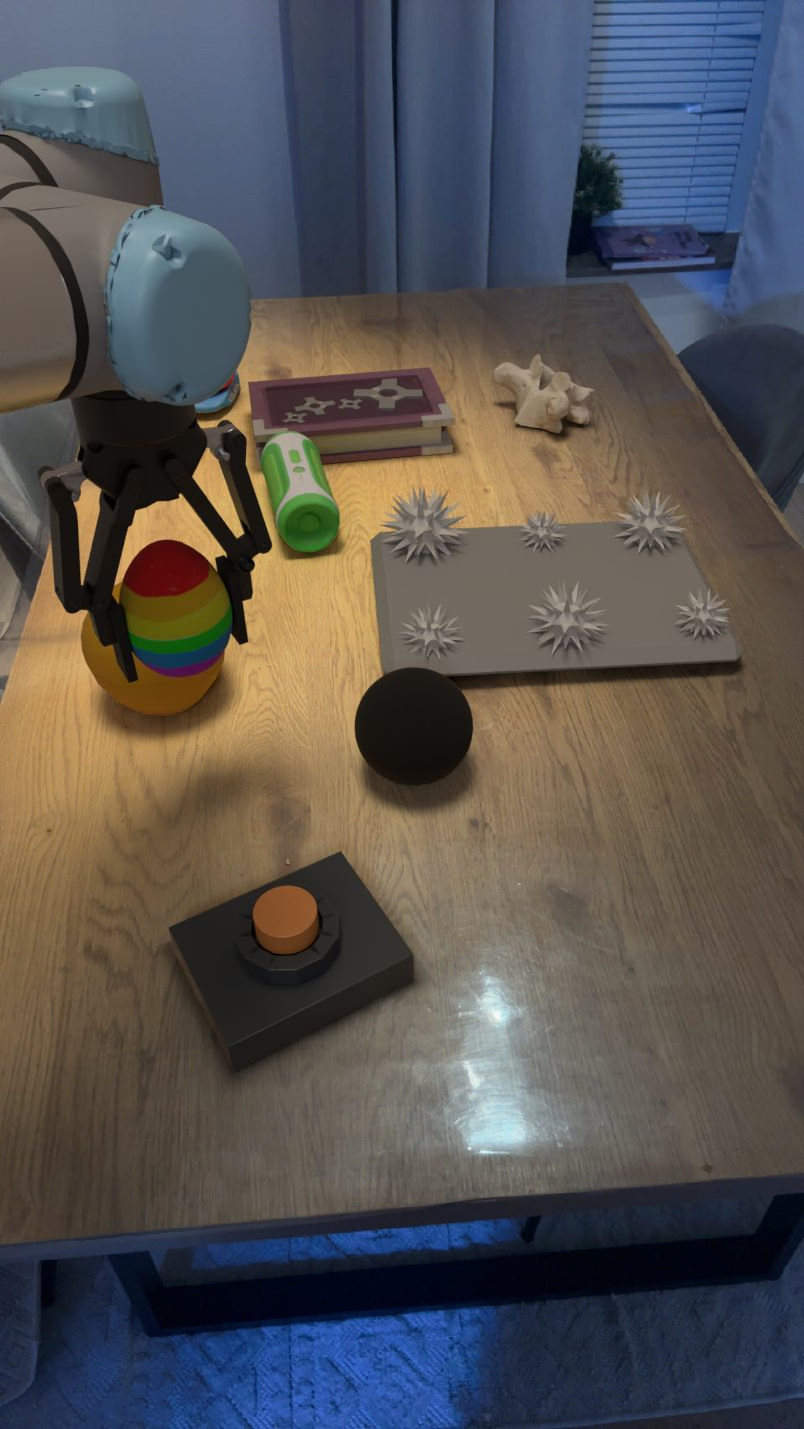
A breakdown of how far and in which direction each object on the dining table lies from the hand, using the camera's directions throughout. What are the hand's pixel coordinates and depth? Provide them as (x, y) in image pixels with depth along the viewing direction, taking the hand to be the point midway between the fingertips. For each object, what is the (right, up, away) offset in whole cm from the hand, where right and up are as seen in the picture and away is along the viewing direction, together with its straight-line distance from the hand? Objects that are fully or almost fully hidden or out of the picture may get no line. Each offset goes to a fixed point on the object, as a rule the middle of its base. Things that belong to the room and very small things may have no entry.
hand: (183, 652), depth 78 cm
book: (+10, +33, +58) cm, 68 cm away
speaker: (+5, +18, +43) cm, 47 cm away
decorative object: (+36, +35, +60) cm, 78 cm away
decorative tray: (+32, +7, +29) cm, 43 cm away
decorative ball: (+18, -10, +11) cm, 23 cm away
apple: (-6, -3, +19) cm, 20 cm away
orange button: (+9, -20, -7) cm, 23 cm away
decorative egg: (0, 0, 0) cm, 0 cm away
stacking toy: (-13, +40, +67) cm, 79 cm away
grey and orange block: (+9, -23, -4) cm, 25 cm away
